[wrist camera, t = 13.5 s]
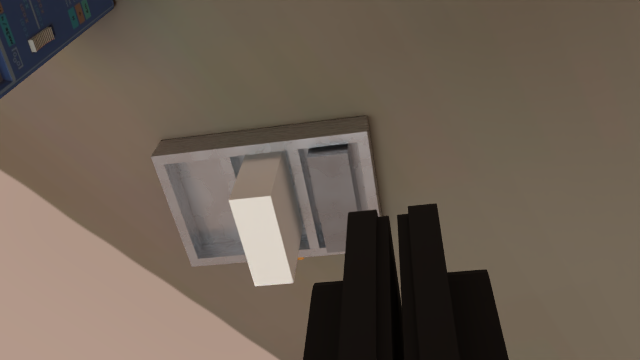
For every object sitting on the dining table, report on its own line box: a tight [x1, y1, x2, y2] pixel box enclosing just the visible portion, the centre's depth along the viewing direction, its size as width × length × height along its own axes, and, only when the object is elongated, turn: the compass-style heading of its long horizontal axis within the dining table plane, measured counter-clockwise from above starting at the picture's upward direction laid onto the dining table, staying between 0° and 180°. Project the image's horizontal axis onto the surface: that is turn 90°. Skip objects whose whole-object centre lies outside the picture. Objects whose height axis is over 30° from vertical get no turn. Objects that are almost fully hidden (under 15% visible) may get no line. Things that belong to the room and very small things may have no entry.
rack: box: [151, 116, 382, 267], centre depth 48 cm, size 17×11×4 cm
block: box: [229, 151, 303, 286], centre depth 46 cm, size 3×8×7 cm, turn 10°
